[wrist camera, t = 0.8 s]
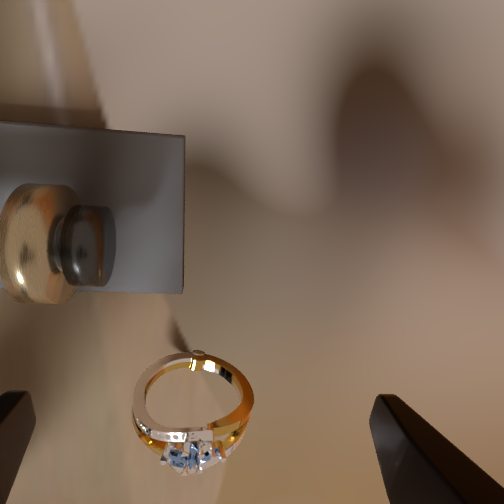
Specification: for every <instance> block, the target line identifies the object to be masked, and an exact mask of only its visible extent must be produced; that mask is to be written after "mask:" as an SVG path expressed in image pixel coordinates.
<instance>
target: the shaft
mask: <svg viewBox="0 0 504 504" xmlns="http://www.w3.org/2000/svg"><path fill="white" fill-rule="evenodd" d="M115 255H116V227H115V221H114V217H113V214H112V212H111V210H110V208H109V207H107V206H93V205H81V202H80V200H79V198H78V196H77V194H76V193H75V191H74V190H73V189H72V188H70V187H69V186H66V185H54V184H38V183H25V184H22V185H20V186H18V187H17V188H16V189H15V190H14V191H13V192H12V193H11V194H10V196H9V197H8V199H7V200H6V202H5V204H4V207H3V209H2V212H1V214H0V279H1V281H2V284H3V286H4V288H5V289H6V291H7V293H8V294H9V295H10V296H11V297H12V298H13V299H14V300H16V301H17V302H20V303H41V304H62V303H65V302H66V301H68V300H69V299H70V298H71V296H72V295H73V294H74V292H75V290H76V288H77V286H90V287H104V286H105V285H106V284H107V283H108V282H109V280H110V277H111V275H112V271H113V267H114V262H115Z"/></svg>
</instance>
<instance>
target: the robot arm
mask: <svg viewBox="0 0 504 504" xmlns="http://www.w3.org/2000/svg"><path fill="white" fill-rule="evenodd" d="M35 422H36V416H35V412H34V407H33V403H32V399H31V396H30V393H29V392H28V391H7V392H5V393H3V394H2V395H1V396H0V504H6V501H7V499H8V496H9V494H10V491H11V489H12V486H13V483H14V481H15V478H16V475H17V473H18V470H19V467H20V465H21V462H22V459H23V457H24V454H25V451H26V449H27V446H28V443H29V441H30V438H31V435H32V433H33V430H34V427H35ZM369 424H370V430H371V434H372V438H373V441H374V445H375V449H376V453H377V457H378V461H379V465H380V469H381V473H382V477H383V481H384V485H385V488H386V492H387V496H388V499H389V501H390V504H504V488H503V487H502V486H501V485H500V484H499V483H497V482H496V481H495V480H494V479H493V478H492V477H490V476H489V475H488V474H487V473H486V472H485V471H483V470H482V469H481V468H480V467H479V466H478V465H477V464H475V463H474V462H473V461H472V460H471V459H469V457H467V456H466V455H465V454H464V453H463V452H462V451H460V450H459V449H458V448H457V447H456V446H454V445H453V444H452V443H451V442H450V441H449V440H448V439H447V438H445V437H444V436H443V435H442V434H441V433H440V432H438V431H437V430H436V429H435V428H434V427H433V426H431V425H430V424H429V423H428V422H427V421H426V420H425V419H423V418H422V417H421V416H420V415H419V414H418V413H416V412H415V411H414V410H413V409H412V408H411V407H409V406H408V405H407V404H406V403H405V402H404V401H403V400H401V399H400V398H399V397H397V396H396V395H394V394H379V395H378V396H377V397H376V399H375V402H374V406H373V409H372V412H371V415H370V420H369Z"/></svg>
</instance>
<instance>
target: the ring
mask: <svg viewBox="0 0 504 504" xmlns="http://www.w3.org/2000/svg"><path fill="white" fill-rule="evenodd" d="M183 367H190V369H191V370H194V371H201V370H202V368H203V369H207V370H210V371H213V372H215V373H217V374H219V375H221V376H222V377H224V378H225V379H226V380H227V381H228V382H229V383H230V384H231V385H232V386H233V387H234V389H235V390H236V392H237V394H238V396H239V399H240V405H239V406H238V407H237V408H236V409H235V410H234V411H233V412H232V413H230V414H229V415H227V416H225V417H223V418H221V419H219V420H217V421H214V422H212V423H209V424H207V428H205V427H189V428H175V427H167V426H163V425H160V424H158V423H156V422H155V421H154V420H153V419H152V418H151V417H150V415H149V414H148V412H147V409H146V403H145V401H146V396H147V393H148V391H149V389H150V387H151V386H152V384H153V383H154V382H155V381H156V380H157V379H158V378H159V377H160V376H162V375H163V374H165V373H166V372H168V371H171V370H174V369H177V368H183ZM253 404H254V394H253V390H252V388H251V386H250V384H249V382H248V380H247V379H246V378H245V376H244V375H243V374H242V373H241V372H240V371H239V370H238V369H237V368H235V367H234V366H233V365H231V364H230V363H228V362H226V361H224V360H222V359H219V358H217V357H214V356H211V355H207V354H205V353H204V352H203V351H199V350H194V351H193V352H184V353H176V354H172V355H168V356H166V357H163V358H161V359H159V360H157V361H156V362H154V363H153V364H151V365H150V366H149V367H148V368H147V369H146V370H145V371H144V372H143V373H142V375H141V376H140V378H139V379H138V381H137V383H136V386H135V390H134V395H133V404H132V421H133V425H134V428H135V431H136V433H137V435H138V436H139V438H140V439H141V441H142V442H143V443H144V444H145V445H146V446H147V447H148V448H149V449H150V450H152V451H153V452H154V453H156V454H158V455H159V456H161V460H160V463H161V464H162V465H165V464H166V463H167V462H168V464H169V465H170V467H171V468H172V469H173V470H175V471H177V472H180V473H181V475H182V476H188V473H195V472H196V473H197V474H202V473H203V470H204V469H206V468H208V467H210V466H212V465H214V464H216V463H217V462H219V461H221V462H222V463H224V462H225V461H226V460H227V456H228V455H229V454H230V453H231V452H232V451H233V450H234V449H235V448H236V447H237V446H238V444H239V443H240V441H241V440H242V438H243V435H244V433H245V431H246V428H247V425H248V422H249V419H250V415H251V411H252V407H253ZM230 432H231V433H230ZM228 433H230V435H229V436H228V437H227V438H226V439H225V440H224V441H220V440H217V441H215V442H212V441H214V437H216V436H221V435H225V434H228Z"/></svg>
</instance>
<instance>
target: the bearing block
mask: <svg viewBox="0 0 504 504" xmlns="http://www.w3.org/2000/svg"><path fill="white" fill-rule="evenodd" d="M25 183H38V184H54V185H66V186H69V187H70V188H72V189H73V190H74V191H75V193H76V194H77V196H78V198H79V200H80V202H81V205H93V206H107V207H109V208H110V210H111V212H112V214H113V217H114V221H115V227H116V255H115V262H114V267H113V271H112V275H111V277H110V280H109V282H108V283H107V284H106V285H105V286H104V287H90V286H77V288H76V290H75V291H100V292H132V293H164V294H182V292H183V287H184V211H185V207H184V206H185V203H184V202H185V136H183V135H170V134H159V133H147V132H133V131H122V130H110V129H97V128H85V127H73V126H61V125H48V124H36V123H24V122H11V121H0V214H1V212H2V209H3V207H4V204H5V202H6V200H7V199H8V197H9V196H10V194H11V193H12V192H13V191H14V190H15V189H16V188H17V187H18V186H20V185H22V184H25ZM0 288H4V286H3V284H2V281H1V279H0Z"/></svg>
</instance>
